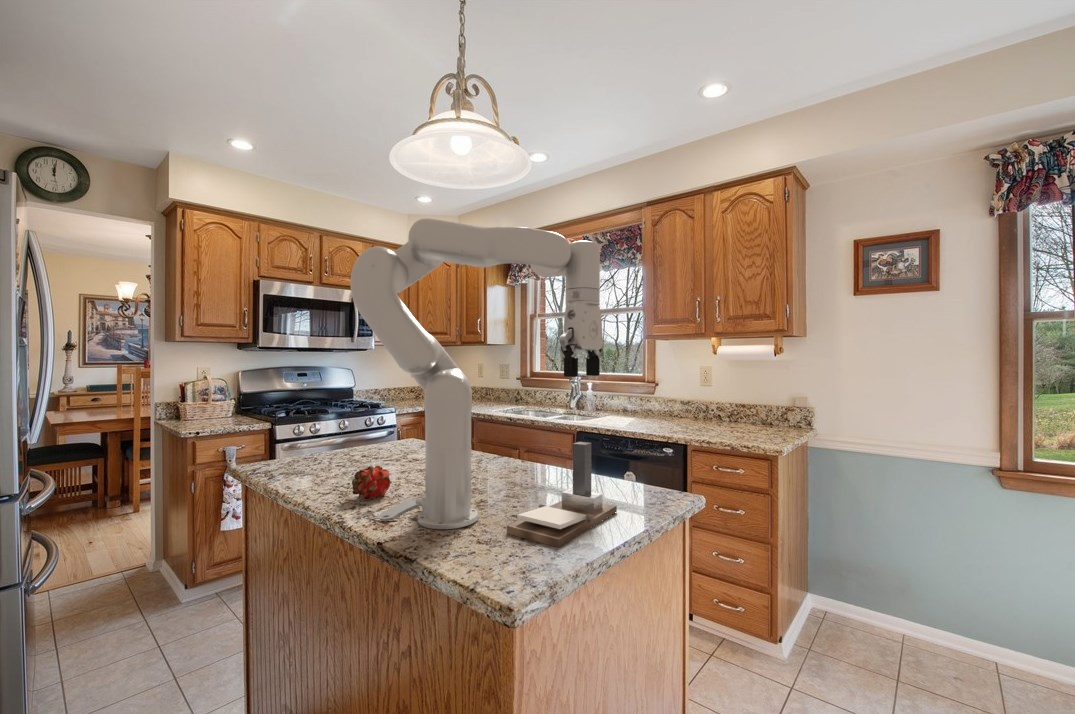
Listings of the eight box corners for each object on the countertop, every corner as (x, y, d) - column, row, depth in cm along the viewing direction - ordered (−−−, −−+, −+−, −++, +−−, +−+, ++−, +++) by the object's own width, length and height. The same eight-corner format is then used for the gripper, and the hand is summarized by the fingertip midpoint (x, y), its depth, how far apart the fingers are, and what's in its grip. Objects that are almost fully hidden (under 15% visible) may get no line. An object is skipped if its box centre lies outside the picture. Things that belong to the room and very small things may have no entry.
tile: (545, 506, 102) (545, 510, 102) (517, 514, 94) (517, 519, 94) (586, 514, 97) (586, 519, 97) (560, 524, 88) (560, 530, 88)
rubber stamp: (593, 512, 101) (594, 446, 101) (561, 505, 106) (561, 442, 106) (602, 507, 105) (602, 443, 105) (571, 501, 109) (571, 440, 109)
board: (505, 533, 93) (505, 519, 93) (568, 502, 113) (568, 491, 113) (560, 547, 86) (560, 532, 86) (618, 513, 106) (618, 500, 106)
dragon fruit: (351, 512, 111) (383, 504, 122) (378, 492, 109) (408, 487, 121) (336, 479, 113) (369, 475, 125) (363, 460, 112) (393, 458, 123)
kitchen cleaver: (430, 487, 124) (460, 490, 119) (430, 491, 124) (460, 494, 119) (352, 514, 103) (385, 520, 98) (352, 519, 103) (385, 525, 98)
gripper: (577, 292, 96) (577, 377, 96) (615, 301, 110) (614, 375, 110) (546, 295, 100) (546, 376, 100) (586, 303, 115) (586, 374, 115)
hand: (582, 376), depth 105 cm, fingers open, 9 cm apart
